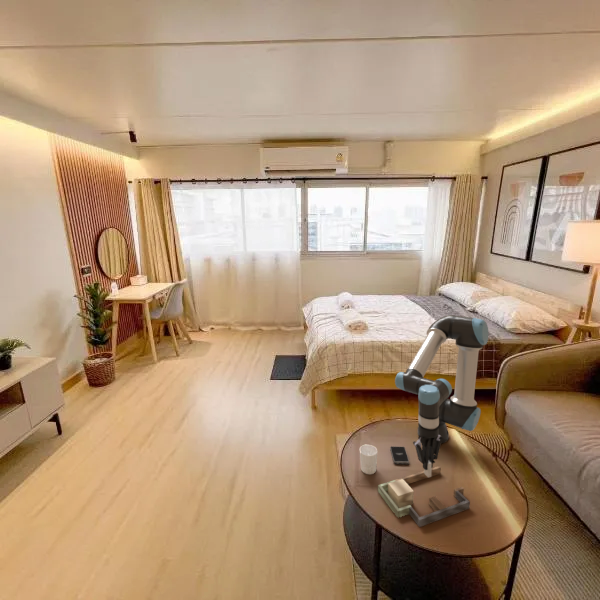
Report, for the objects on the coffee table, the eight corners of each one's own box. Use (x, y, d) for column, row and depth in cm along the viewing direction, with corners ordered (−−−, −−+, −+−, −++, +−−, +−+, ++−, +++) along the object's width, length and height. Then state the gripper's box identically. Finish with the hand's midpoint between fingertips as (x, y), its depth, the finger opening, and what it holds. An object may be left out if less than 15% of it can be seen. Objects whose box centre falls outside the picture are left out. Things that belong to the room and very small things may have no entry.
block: (402, 491, 135) (402, 478, 134) (413, 504, 129) (413, 490, 128) (388, 496, 133) (388, 483, 132) (398, 509, 127) (398, 496, 126)
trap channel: (438, 471, 145) (439, 466, 144) (475, 506, 126) (476, 499, 126) (378, 491, 136) (378, 485, 135) (407, 531, 117) (407, 524, 116)
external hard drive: (393, 465, 151) (394, 461, 151) (390, 449, 162) (390, 446, 162) (409, 465, 150) (409, 461, 150) (404, 450, 161) (404, 446, 161)
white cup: (366, 461, 154) (366, 442, 152) (380, 468, 149) (380, 449, 147) (356, 469, 149) (356, 450, 147) (371, 478, 143) (370, 458, 141)
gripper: (435, 415, 134) (434, 464, 139) (408, 422, 130) (408, 473, 136) (448, 425, 127) (447, 476, 132) (420, 433, 123) (420, 486, 129)
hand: (427, 474), depth 134 cm, fingers closed
